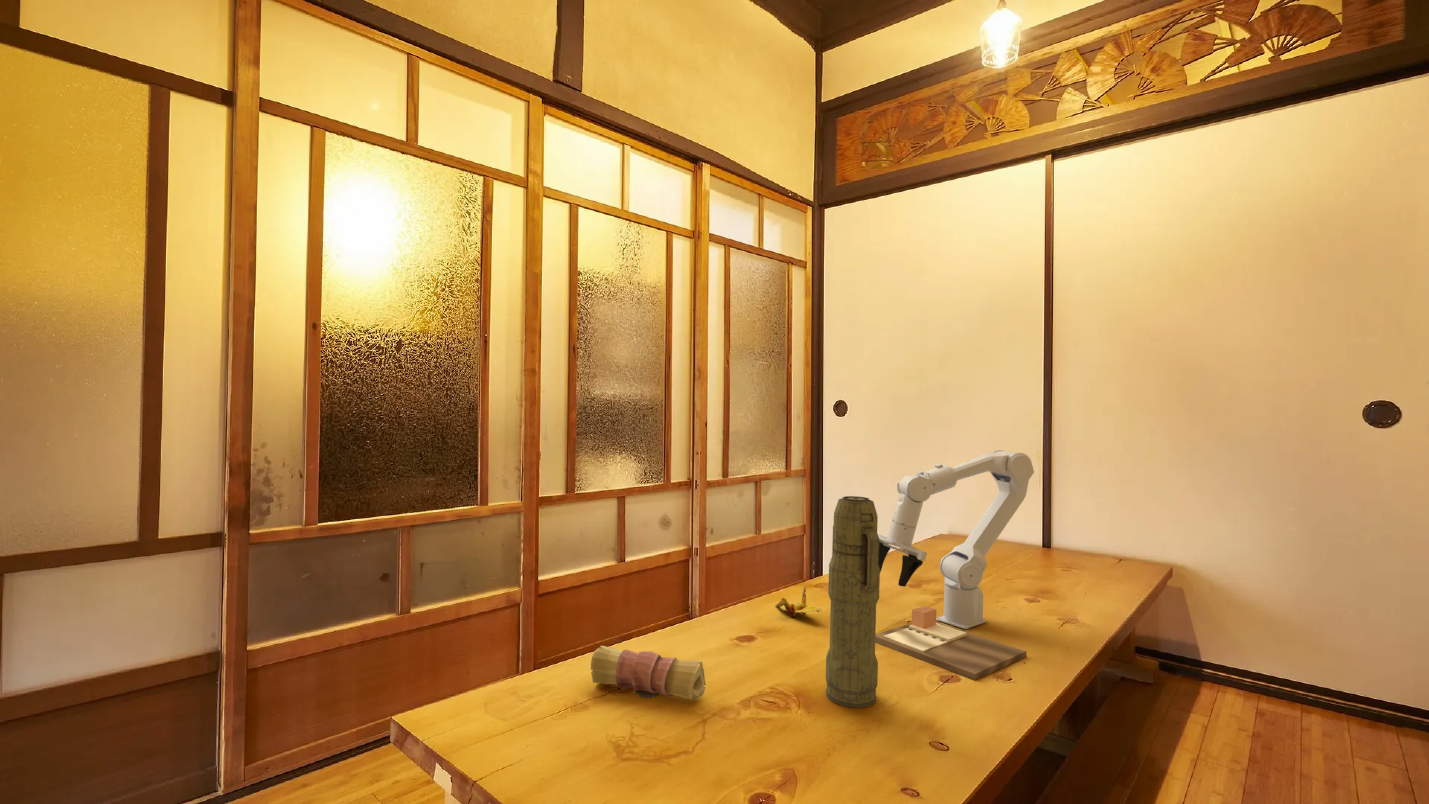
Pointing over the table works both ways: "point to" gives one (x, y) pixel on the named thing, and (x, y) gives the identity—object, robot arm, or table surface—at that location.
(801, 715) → the table surface
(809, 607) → the origami crane
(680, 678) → the scroll
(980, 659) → the board
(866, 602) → the thermos
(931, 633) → the stub
